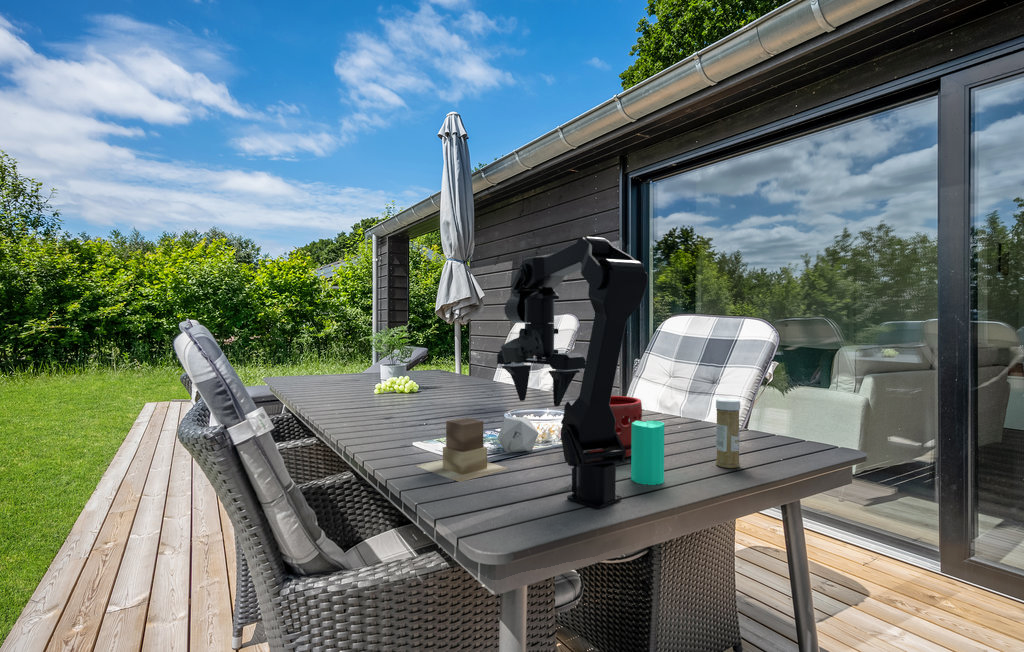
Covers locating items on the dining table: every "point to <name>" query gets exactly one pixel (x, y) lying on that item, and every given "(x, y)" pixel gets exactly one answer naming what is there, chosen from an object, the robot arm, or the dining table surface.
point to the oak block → (465, 460)
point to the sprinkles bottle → (727, 432)
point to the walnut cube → (464, 434)
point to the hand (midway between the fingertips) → (539, 403)
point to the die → (517, 434)
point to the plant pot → (625, 418)
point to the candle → (647, 452)
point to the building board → (438, 469)
